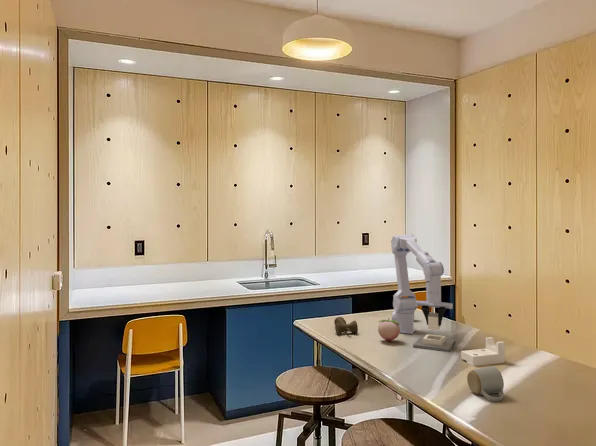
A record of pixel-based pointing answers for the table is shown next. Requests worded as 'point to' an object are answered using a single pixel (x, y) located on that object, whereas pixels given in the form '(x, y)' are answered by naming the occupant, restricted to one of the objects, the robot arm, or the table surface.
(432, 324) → the block
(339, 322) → the kendama
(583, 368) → the table surface
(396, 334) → the decorative fruit
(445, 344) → the outlet plate
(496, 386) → the ceramic mug
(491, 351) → the bracket
